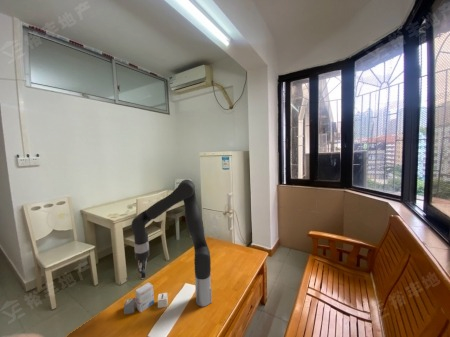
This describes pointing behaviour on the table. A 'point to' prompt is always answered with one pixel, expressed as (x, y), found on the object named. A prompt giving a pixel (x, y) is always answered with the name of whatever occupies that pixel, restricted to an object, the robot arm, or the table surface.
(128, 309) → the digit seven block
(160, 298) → the digit one block
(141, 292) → the ink box
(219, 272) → the table surface
